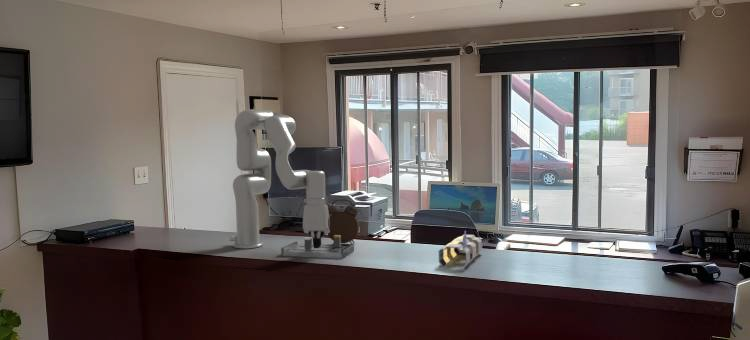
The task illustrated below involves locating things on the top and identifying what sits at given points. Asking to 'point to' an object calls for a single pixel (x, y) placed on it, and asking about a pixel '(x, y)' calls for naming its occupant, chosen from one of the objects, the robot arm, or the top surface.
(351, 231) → the alarm clock
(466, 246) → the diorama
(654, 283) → the top surface
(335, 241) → the fader cap
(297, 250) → the console
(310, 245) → the fader cap
